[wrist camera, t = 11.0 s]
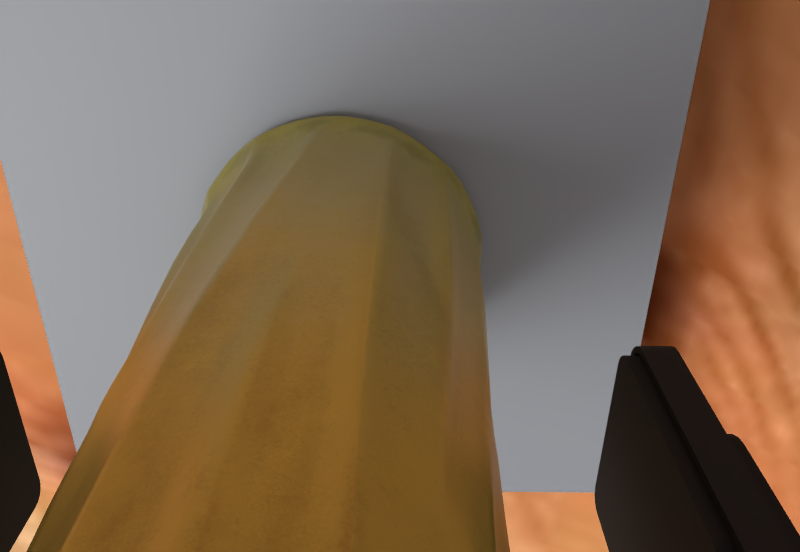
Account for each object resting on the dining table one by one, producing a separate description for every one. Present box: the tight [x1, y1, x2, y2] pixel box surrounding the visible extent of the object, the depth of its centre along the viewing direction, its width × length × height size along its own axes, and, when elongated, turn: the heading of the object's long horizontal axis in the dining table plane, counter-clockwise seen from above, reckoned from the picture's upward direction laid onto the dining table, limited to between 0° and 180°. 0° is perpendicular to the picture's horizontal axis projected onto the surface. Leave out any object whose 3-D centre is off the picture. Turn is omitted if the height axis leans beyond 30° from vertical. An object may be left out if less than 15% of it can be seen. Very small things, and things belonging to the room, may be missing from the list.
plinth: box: [0, 0, 710, 492], centre depth 17 cm, size 14×14×3 cm
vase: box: [27, 116, 510, 552], centre depth 10 cm, size 6×6×14 cm
